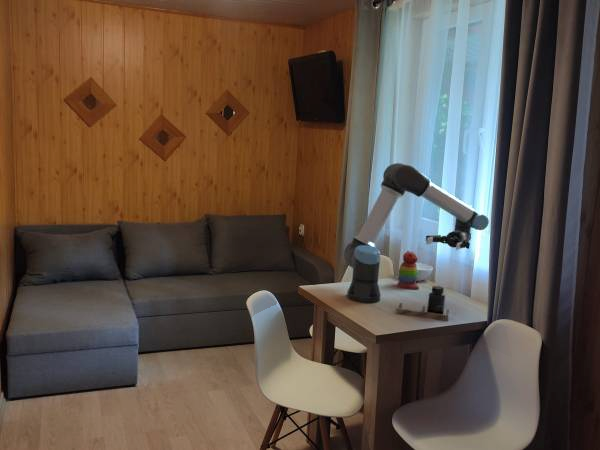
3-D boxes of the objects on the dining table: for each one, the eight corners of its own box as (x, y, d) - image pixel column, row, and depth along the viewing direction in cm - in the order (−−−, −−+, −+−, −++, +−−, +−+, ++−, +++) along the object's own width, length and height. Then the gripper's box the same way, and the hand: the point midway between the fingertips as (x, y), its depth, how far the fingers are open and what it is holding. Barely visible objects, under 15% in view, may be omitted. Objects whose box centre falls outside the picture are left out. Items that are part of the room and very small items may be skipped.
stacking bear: (419, 290, 290) (423, 254, 287) (398, 288, 290) (402, 253, 287) (415, 284, 300) (418, 250, 297) (395, 283, 300) (398, 248, 297)
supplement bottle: (440, 318, 246) (443, 290, 244) (424, 314, 249) (427, 287, 247) (445, 314, 252) (448, 287, 250) (430, 310, 255) (432, 284, 253)
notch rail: (397, 313, 249) (397, 308, 249) (399, 307, 258) (399, 302, 258) (447, 320, 244) (448, 316, 244) (448, 314, 253) (448, 309, 253)
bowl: (431, 284, 302) (433, 271, 301) (400, 281, 305) (401, 267, 304) (431, 277, 318) (432, 264, 317) (401, 274, 321) (402, 261, 320)
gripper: (481, 251, 273) (468, 257, 255) (429, 242, 286) (414, 247, 268) (483, 235, 272) (471, 240, 254) (431, 226, 285) (416, 231, 267)
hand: (442, 244), depth 261 cm, fingers open, 13 cm apart
